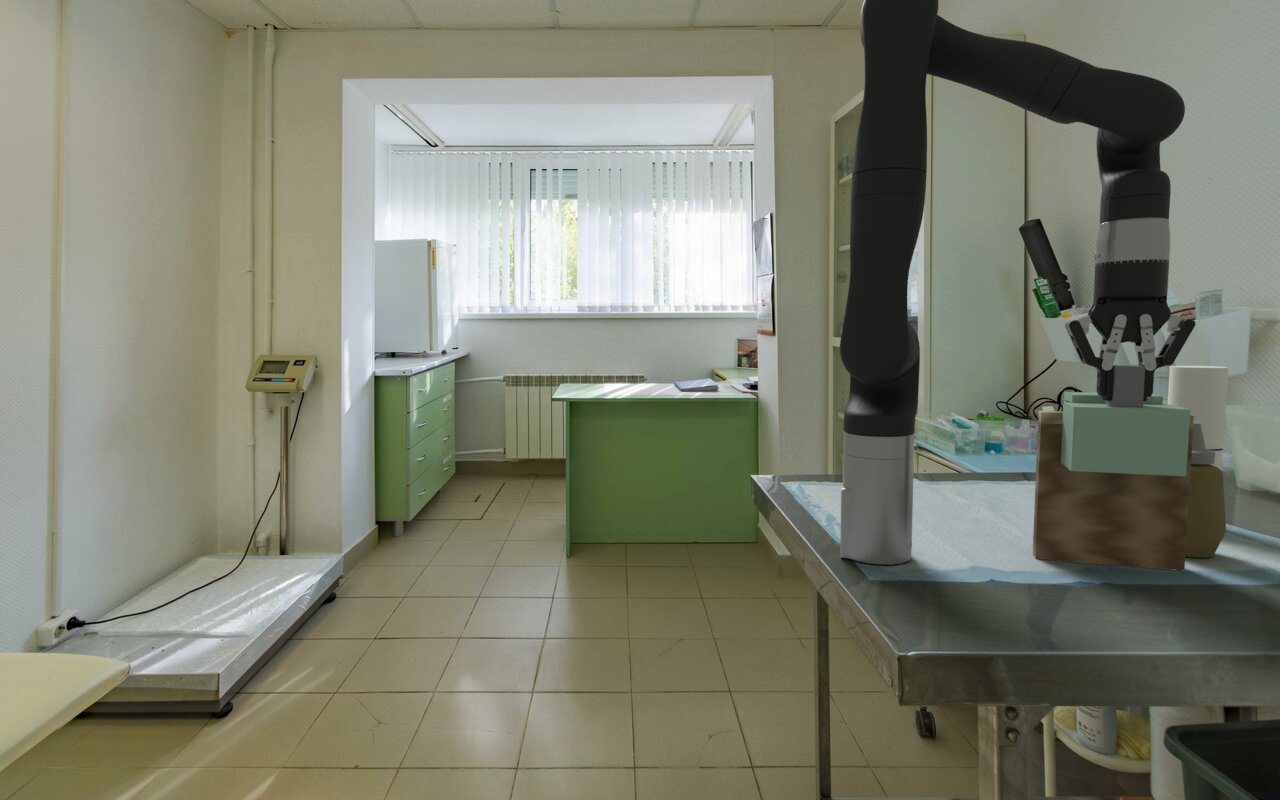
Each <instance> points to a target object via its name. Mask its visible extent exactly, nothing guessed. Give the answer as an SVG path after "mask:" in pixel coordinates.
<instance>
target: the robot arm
mask: <svg viewBox="0 0 1280 800" xmlns="http://www.w3.org/2000/svg"><path fill="white" fill-rule="evenodd" d="M938 13H939V0H863V3H862V6H861V10H860V25H859V26H860V29H859V30H860V34H859V35H860V40H861V45H862V47H863V50H864V51H863V57H864V87H863V99H862V105H861V109H860V114H859V115H860V116H859V120H858V126H857V127H858V128H857V132H856V133H857V134H856V138H855V145H854V146H855V147H854V153H853V161H852V169H851V171H852V172H851V191H850V192H851V193H850V224H849V262H850V264H849V267H850V269H849V272H850V273H849V282H848V283H849V284H848V292H847V298H846V303H845V304H846V305H845V311H844V317H843V322H842V328H841V336H840V339H839V340H840V341H839V342H840V343H839V355H840V358H841V361H842V364H843V366H844V369H846V371H847V372H848V373H849V394H848V395H849V396H848V400H847V404H846V407H845V410H844V413H843V444H842V445H843V447H842V448H843V453H842V457H843V458H842V487H841V493H840V494H841V497H840V502H841V503H840V544H839V545H840V548H839V549H840V551H839V553H840V554H839V555H840V558H841V559H842V558H843V559H849V560H852V561H856V562H860V563H865V564H872V565H898V564H899V565H900V564H903V563H906V562H909V561H910V560H911V559H912V549H913V548H912V547H913V509H914V506H913V503H914V502H913V501H914V471H915V470H914V468H915V465H914V463H915V462H914V461H915V457H914V456H915V429H916V427H915V426H916V425H915V424H916V417H917V413H918V406H919V389H920V387H919V386H920V365H921V364H920V359H921V350H920V349H921V347H920V341H919V336H918V334H917V332H916V330H915V329H914V327H913V326H912V325H911V324H910V323H909V317H908V316H909V315H908V314H909V313H908V290H909V289H908V286H909V274H910V268H911V264H912V260H913V256H914V252H915V249H916V246H917V243H918V238H919V234H920V230H921V227H922V222H923V217H924V211H925V202H926V201H925V200H926V187H927V173H928V172H927V171H928V165H927V164H928V160H927V159H928V123H927V122H928V121H927V120H928V119H927V102H926V101H927V100H926V97H927V96H926V93H927V92H926V90H927V89H926V87H927V75H929V76H933V77H937V78H941V79H943V80H948V81H951V82H954V83H956V84H961V85H962V86H966V87H969V88H971V89H975V90H977V91H980V92H983V93H985V94H988V95H990V96H992V97H995V98H998V99H1001V100H1003V101H1005V102H1008V103H1010V104H1012V105H1015V106H1016V107H1019V108H1021V109H1023V110H1026V111H1028V112H1030V113H1033V114H1035V115H1038V116H1040V117H1041V118H1045V119H1047V120H1049V121H1051V122H1055V123H1058V124H1061V125H1062V124H1064V125H1069V124H1074V123H1075V124H1076V123H1082V124H1085V125H1088V126H1092V127H1095V128H1097V133H1096V157H1097V163H1098V164H1097V165H1098V173H1099V178H1100V183H1101V195H1100V206H1099V225H1098V226H1099V227H1098V233H1097V239H1096V241H1095V242H1096V243H1095V252H1094V256H1093V257H1094V258H1093V259H1094V262H1095V263H1094V278H1093V279H1094V281H1093V300H1092V306H1091V308H1090V309H1089V311H1088V312H1087V315H1085V316H1082V317H1080V318H1077V319H1073V320H1072V319H1071V320H1068V321H1066V322H1065V325H1064V327H1065V329H1066V331H1067V333H1068V336H1069V338H1070V340H1071V342H1072V344H1073V347H1074V349H1075V351H1076V353H1077V355H1078V358H1079V359H1080V362H1081V363H1082V364H1083V365H1085V366H1086V365H1087V366H1090V367H1093V368H1095V369H1096V375H1097V376H1096V390H1095V391H1096V393H1097V394H1098V395H1100V396H1102V400H1105V401H1112V396H1113V377H1114V371H1112V367H1113V365H1115V364H1114V363H1115V359H1116V356H1117V353H1118V352H1119V350H1120V349H1119V348H1120V345H1121V344H1124V343H1132V344H1133V347H1134V350H1135V352H1136V358H1137V365H1138V366H1145V378H1144V395H1143V401H1146V400H1147V397H1151V395H1152V394H1154V379H1155V377H1154V376H1155V372H1156V370H1157V369H1159V368H1164V367H1166V366H1168V367H1170V366H1173V364H1174V363H1175V361H1176V359H1177V357H1178V356H1179V354H1180V353H1181V351H1182V349H1183V348H1184V345H1185V344H1186V342H1187V340H1188V339H1189V337H1190V335H1191V333H1192V331H1193V330H1194V329H1195V326H1196V321H1195V320H1194V319H1192V318H1183V317H1180V316H1177V315H1175V314H1172V310H1171V308H1170V307H1169V305H1168V293H1169V292H1168V291H1169V289H1168V288H1169V271H1170V253H1171V252H1170V251H1171V231H1170V207H1171V205H1170V204H1171V191H1172V190H1171V189H1172V187H1171V186H1172V185H1171V179H1170V177H1169V175H1168V173H1167V172H1165V171H1163V170H1161V169H1162V168H1161V154H1160V153H1161V152H1160V150H1161V142H1164V141H1165V140H1166V139H1168V138H1169V137H1171V136H1172V135H1173V134H1174V133H1175V132H1176V131H1177V130H1178V128H1179V127H1180V126H1181V125H1182V122H1183V120H1184V117H1185V112H1186V105H1185V102H1184V99H1183V98H1182V97H1183V96H1181V94H1180V93H1179V92H1178V90H1176V89H1175V88H1174V87H1173V86H1171V85H1169V84H1168V83H1166V82H1164V81H1162V80H1159V79H1157V78H1153V77H1150V76H1147V75H1142V74H1138V73H1134V72H1133V73H1132V72H1127V71H1123V70H1117V69H1111V68H1103V67H1098V66H1095V65H1092V63H1088V62H1086V61H1084V60H1082V59H1080V58H1076V57H1074V56H1073V55H1069V54H1067V53H1064V52H1061V51H1060V50H1058V49H1054V48H1052V47H1049V46H1046V45H1042V44H1039V43H1034V42H1029V41H1023V40H1017V39H1016V40H1015V39H1010V38H1003V37H1002V38H1001V37H995V36H989V35H984V34H981V33H975V32H974V31H970V30H967V29H964V28H962V27H960V26H957V25H955V24H953V23H952V22H950V21H949V20H947V19H944V18H943V17H942V16H940V15H938ZM1166 323H1167V327H1166V329H1167V330H1166V331H1167V333H1169V335H1168V337H1167V338H1166V341H1165V342H1164V344H1163V345H1162V347H1161V349H1160V351H1159V352H1158V354H1157V355H1156V353H1155V351H1156V344H1155V343H1156V342H1155V338H1154V336H1155V335H1156V334H1157V333H1158V332H1159V331H1160V330H1161V328H1163V326H1164V325H1165V324H1166ZM1090 324H1092V325H1093V327H1094V329H1095V330H1096V331H1097V332H1098V333H1099V335H1101V342H1100V345H1099V354H1098V356H1096V354H1095V353H1094V350H1093V349H1092V346H1091V344H1090V341H1089V340H1088V337H1087V334H1088V333H1089V332H1090V328H1089V327H1090Z"/></svg>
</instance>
